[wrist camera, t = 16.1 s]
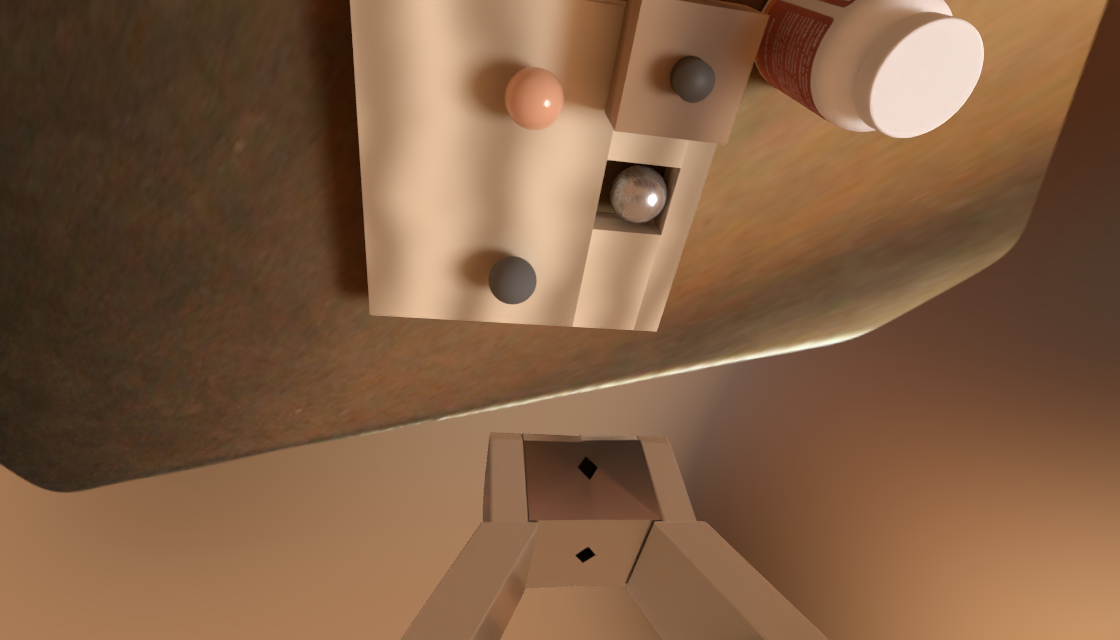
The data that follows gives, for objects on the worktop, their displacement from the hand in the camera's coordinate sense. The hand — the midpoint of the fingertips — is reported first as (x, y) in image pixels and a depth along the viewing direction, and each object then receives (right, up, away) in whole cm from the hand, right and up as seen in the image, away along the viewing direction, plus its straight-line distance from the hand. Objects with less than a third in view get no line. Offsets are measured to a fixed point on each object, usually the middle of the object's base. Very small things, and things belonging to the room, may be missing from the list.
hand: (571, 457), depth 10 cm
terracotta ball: (-2, +14, +19) cm, 23 cm away
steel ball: (+5, +10, +25) cm, 27 cm away
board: (-2, +12, +25) cm, 28 cm away
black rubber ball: (-3, +5, +25) cm, 26 cm away
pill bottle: (+13, +19, +22) cm, 32 cm away
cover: (+6, +16, +19) cm, 26 cm away
